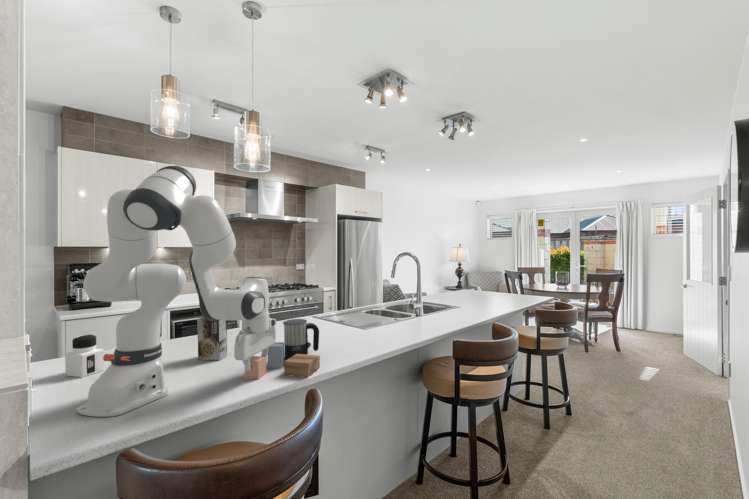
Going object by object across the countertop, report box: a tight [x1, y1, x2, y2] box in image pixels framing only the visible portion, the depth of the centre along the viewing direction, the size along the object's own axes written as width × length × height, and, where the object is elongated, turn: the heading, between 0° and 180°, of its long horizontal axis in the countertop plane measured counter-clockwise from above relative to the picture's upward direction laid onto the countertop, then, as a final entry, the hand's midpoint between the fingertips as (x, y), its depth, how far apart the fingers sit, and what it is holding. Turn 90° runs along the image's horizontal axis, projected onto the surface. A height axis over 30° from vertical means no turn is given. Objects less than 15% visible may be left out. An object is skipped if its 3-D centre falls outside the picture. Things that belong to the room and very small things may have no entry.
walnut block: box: [283, 354, 321, 378], centre depth 129 cm, size 9×9×5 cm
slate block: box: [267, 341, 285, 369], centre depth 135 cm, size 5×5×8 cm
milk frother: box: [282, 318, 320, 361], centre depth 148 cm, size 14×16×15 cm
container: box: [64, 334, 105, 378], centre depth 128 cm, size 8×8×13 cm
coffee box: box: [196, 316, 228, 361], centre depth 145 cm, size 9×6×16 cm
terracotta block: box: [244, 355, 267, 380], centre depth 125 cm, size 5×5×6 cm
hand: (256, 365), depth 124 cm, fingers open, 8 cm apart
